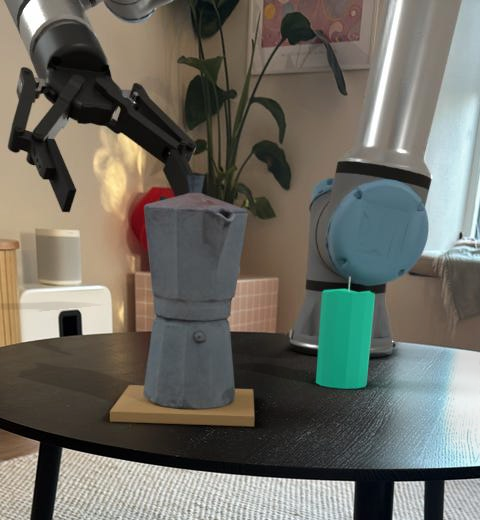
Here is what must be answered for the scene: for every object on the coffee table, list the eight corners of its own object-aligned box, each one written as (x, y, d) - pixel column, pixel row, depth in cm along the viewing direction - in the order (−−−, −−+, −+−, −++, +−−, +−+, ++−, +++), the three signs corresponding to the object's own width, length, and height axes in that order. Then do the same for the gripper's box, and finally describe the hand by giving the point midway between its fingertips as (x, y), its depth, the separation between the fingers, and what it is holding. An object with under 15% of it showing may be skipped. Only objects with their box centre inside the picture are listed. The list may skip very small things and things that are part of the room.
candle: (355, 390, 85) (366, 279, 80) (307, 384, 87) (314, 275, 83) (374, 382, 89) (384, 277, 85) (327, 376, 92) (335, 274, 88)
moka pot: (182, 421, 65) (184, 165, 57) (107, 388, 76) (101, 172, 69) (272, 410, 70) (284, 173, 62) (189, 381, 81) (191, 179, 74)
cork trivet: (252, 398, 79) (253, 389, 79) (254, 426, 68) (254, 416, 67) (129, 394, 79) (128, 384, 79) (109, 421, 68) (109, 411, 67)
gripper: (156, 97, 90) (223, 234, 84) (-59, 70, 77) (3, 229, 71) (178, 38, 84) (252, 180, 78) (-50, -3, 71) (17, 165, 65)
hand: (134, 204), depth 75 cm, fingers open, 13 cm apart
